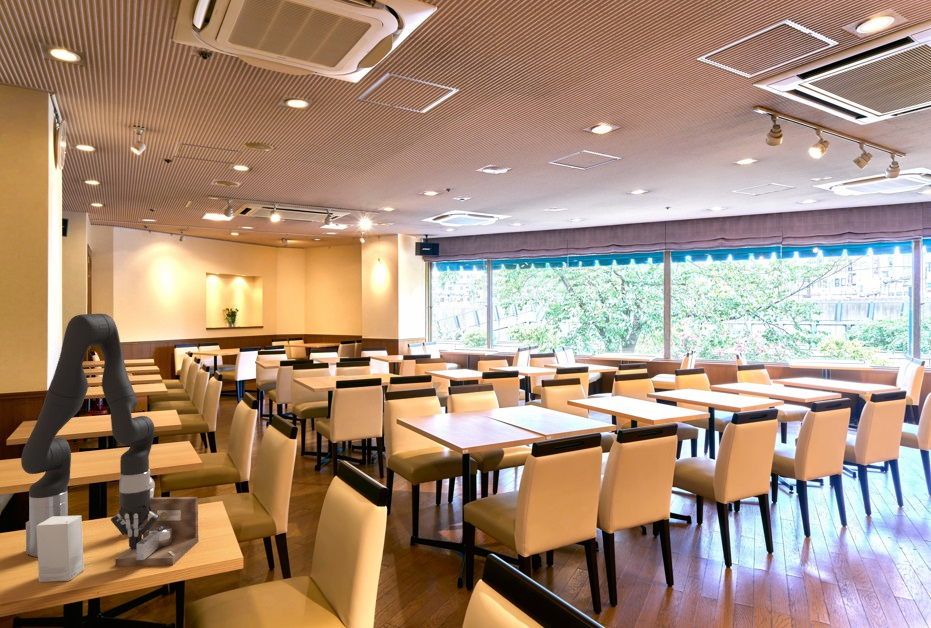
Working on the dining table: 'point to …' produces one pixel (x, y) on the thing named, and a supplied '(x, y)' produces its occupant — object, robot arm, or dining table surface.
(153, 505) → the stand
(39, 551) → the skincare box
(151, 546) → the lever
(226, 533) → the dining table surface
